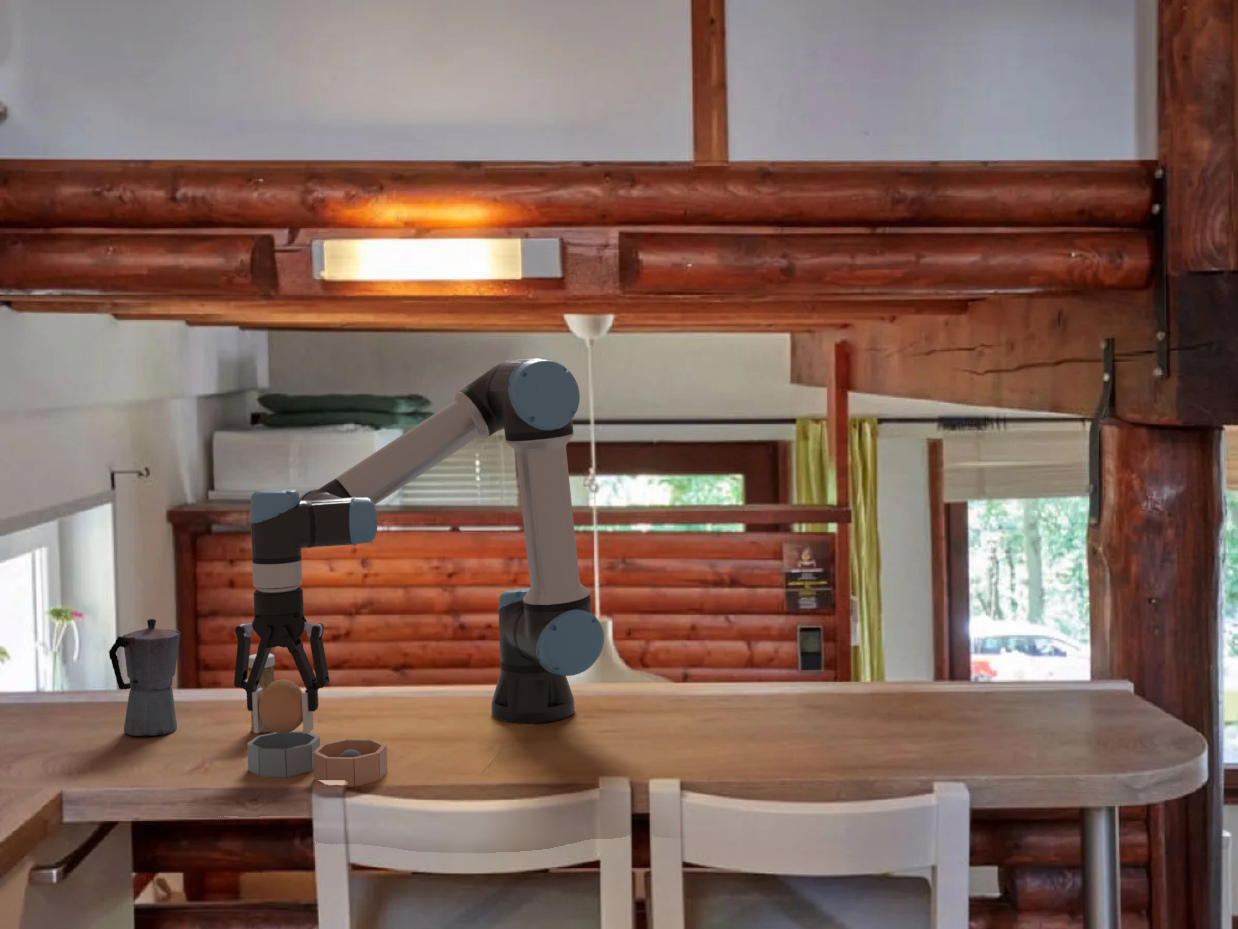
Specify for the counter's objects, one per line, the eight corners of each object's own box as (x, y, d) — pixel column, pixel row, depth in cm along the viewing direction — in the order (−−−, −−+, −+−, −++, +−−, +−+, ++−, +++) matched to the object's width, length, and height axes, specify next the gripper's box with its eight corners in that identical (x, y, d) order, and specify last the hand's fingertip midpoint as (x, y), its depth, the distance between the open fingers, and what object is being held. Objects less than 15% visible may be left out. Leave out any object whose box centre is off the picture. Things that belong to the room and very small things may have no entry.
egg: (263, 741, 206) (261, 687, 205) (256, 729, 213) (254, 677, 212) (311, 735, 209) (309, 682, 208) (303, 724, 215) (301, 672, 215)
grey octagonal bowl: (327, 761, 216) (326, 731, 215) (305, 782, 205) (304, 750, 205) (264, 761, 217) (263, 730, 216) (240, 781, 206) (239, 749, 206)
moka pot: (201, 723, 240) (197, 614, 238) (138, 747, 226) (132, 630, 225) (161, 718, 244) (156, 610, 242) (96, 741, 230) (90, 626, 229)
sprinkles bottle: (280, 731, 234) (278, 655, 233) (255, 735, 232) (252, 659, 231) (272, 725, 238) (269, 651, 237) (247, 729, 236) (244, 654, 235)
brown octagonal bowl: (392, 770, 211) (391, 739, 210) (374, 791, 200) (373, 759, 200) (329, 769, 212) (327, 738, 211) (307, 790, 201) (306, 758, 201)
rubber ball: (367, 771, 208) (366, 746, 207) (359, 779, 204) (359, 754, 203) (342, 771, 208) (341, 746, 208) (334, 779, 204) (333, 753, 204)
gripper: (348, 583, 212) (353, 724, 213) (225, 583, 214) (231, 723, 215) (333, 591, 204) (338, 738, 206) (206, 592, 206) (212, 737, 208)
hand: (283, 730), depth 211 cm, fingers closed on egg, 7 cm apart
